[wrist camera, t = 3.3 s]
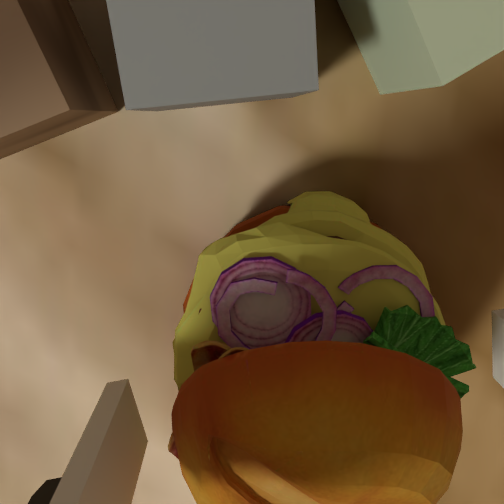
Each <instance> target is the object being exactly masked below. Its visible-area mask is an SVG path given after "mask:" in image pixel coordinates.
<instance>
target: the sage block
mask: <svg viewBox="0 0 504 504" xmlns="http://www.w3.org/2000/svg"><path fill="white" fill-rule="evenodd" d="M337 1H338V3H339V6H340V8H341V10H342V12H343V14H344V16H345V19H346V21H347V23H348V25H349V27H350V30H351V32H352V34H353V36H354V38H355V40H356V43H357V45H358V47H359V49H360V51H361V53H362V56H363V58H364V60H365V62H366V64H367V67H368V69H369V71H370V73H371V75H372V77H373V80H374V82H375V84H376V86H377V88H378V90H379V93H380V95H381V94H388V93H395V92H403V91H410V90H417V89H425V88H432V87H439V86H444V85H445V84H447V83H449V82H450V81H452V80H454V79H455V78H457V77H459V76H460V75H462V74H464V73H465V72H467V71H469V70H471V69H472V68H474V67H476V66H477V65H479V64H481V63H482V62H484V61H486V60H487V59H489V58H491V57H492V56H494V55H496V54H498V53H499V52H501V51H503V50H504V0H337Z"/></svg>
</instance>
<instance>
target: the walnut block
mask: <svg viewBox="0 0 504 504" xmlns="http://www.w3.org/2000/svg"><path fill="white" fill-rule="evenodd" d="M116 112H118V110H117V108H116V106H115V104H114V101H113V99H112V97H111V95H110V93H109V90H108V88H107V86H106V84H105V81H104V79H103V77H102V75H101V73H100V70H99V68H98V66H97V64H96V61H95V59H94V57H93V55H92V53H91V50H90V48H89V46H88V44H87V41H86V39H85V37H84V35H83V33H82V30H81V28H80V26H79V24H78V21H77V19H76V17H75V15H74V13H73V10H72V8H71V6H70V4H69V1H68V0H0V159H1V158H4V157H6V156H9V155H11V154H14V153H16V152H19V151H21V150H24V149H26V148H29V147H31V146H34V145H36V144H39V143H41V142H44V141H46V140H49V139H51V138H54V137H56V136H59V135H61V134H64V133H66V132H69V131H71V130H74V129H76V128H79V127H81V126H84V125H86V124H89V123H91V122H94V121H96V120H99V119H101V118H104V117H106V116H109V115H111V114H114V113H116Z"/></svg>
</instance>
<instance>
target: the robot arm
mask: <svg viewBox="0 0 504 504" xmlns="http://www.w3.org/2000/svg"><path fill="white" fill-rule="evenodd" d="M492 353H493V378H494V379H495V380H496V381H497V382H498V383H499V384H500V385H501V386H502V387H503V388H504V309H499V310H494V311H492ZM147 442H148V440H147V437H146V434H145V430H144V427H143V424H142V421H141V418H140V415H139V412H138V408H137V405H136V402H135V399H134V396H133V393H132V390H131V386H130V383H129V380H128V379H125V380H120V381H114V382H109V383H107V384H106V386H105V388H104V391H103V393H102V395H101V397H100V399H99V401H98V403H97V405H96V407H95V409H94V411H93V414H92V416H91V418H90V420H89V422H88V424H87V426H86V428H85V430H84V432H83V434H82V437H81V439H80V441H79V443H78V445H77V447H76V449H75V451H74V453H73V455H72V457H71V459H70V462H69V464H68V466H67V468H66V470H65V472H64V474H63V476H62V477H61V478H56V479H50V480H46V481H45V483H44V484H43V485H42V486H41V487H40V488H39V489H38V490H37V491H36V492H35V493H34V494H33V496H32V497H31V499H30V501H29V502H28V504H131V503H132V499H133V495H134V491H135V488H136V484H137V480H138V476H139V472H140V469H141V465H142V461H143V457H144V454H145V450H146V446H147Z"/></svg>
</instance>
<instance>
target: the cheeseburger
mask: <svg viewBox="0 0 504 504" xmlns="http://www.w3.org/2000/svg"><path fill="white" fill-rule="evenodd" d="M287 203H289V204H291V206H277V207H275V208H273V209H270V210H268V211H266V212H264V213H261V214H259V215H257V216H255V217H252V218H250V219H248V220H246V221H243V222H241V223H239V224H237V225H236V226H235V227H234V228H233V229H232V230H231V231H230V232H229V233H228V234H227V235H226V236H225V237H224V238H221V239H219V240H217V241H215V242H213V243H212V244H210V245H209V246H207V247H206V248H205V249H204V250H203V251H202V253H201V254H200V255H199V258H198V263H197V267H196V272H195V276H194V279H193V281H192V284H191V286H190V289H189V291H188V294H187V296H186V299H185V301H184V304H183V309H184V315H183V317H182V318H181V320H180V322H179V324H178V326H177V328H176V330H175V339H174V341H173V349H174V380H175V382H176V384H177V386H178V390H179V393H178V395H177V398H176V400H175V403H174V405H173V410H172V431H173V432H172V434H171V437H170V441H169V444H168V450H169V452H171V453H172V454H173V455H174V456H176V457H177V458H178V459H179V461H180V466H181V470H182V475H183V477H184V479H185V481H186V483H187V485H188V487H189V489H190V491H191V493H192V495H193V497H194V499H195V501H196V503H197V504H436V503H437V502H438V500H439V499H440V498H441V497H442V496H443V495H444V493H445V492H446V491H447V490H448V488H449V485H450V481H451V478H452V475H453V472H454V469H455V465H456V462H457V459H458V456H459V453H460V449H461V442H462V432H463V429H462V415H461V402H460V398H462V397H463V396H464V395H465V394H466V393H467V392H469V386H468V385H466V384H464V383H462V382H460V381H458V380H455V379H453V378H451V376H454V375H457V374H460V373H463V372H466V371H469V370H472V369H475V368H476V366H475V364H473V363H472V358H471V353H470V348H469V345H467V344H465V343H463V342H461V341H458V340H456V339H455V336H454V332H453V329H452V327H451V326H446V324H445V322H444V319H443V316H442V313H441V310H440V308H439V305H438V304H437V302H436V300H435V299H434V297H433V296H432V294H431V293H430V288H429V284H428V281H427V278H426V274H425V271H424V268H423V265H422V263H421V262H420V261H419V260H418V258H417V257H416V256H415V255H414V254H413V252H412V251H411V250H410V249H409V248H408V247H407V246H406V245H405V244H404V243H402V242H401V241H399V240H398V239H397V238H395V237H394V236H393V235H391V234H390V233H388V232H386V231H384V230H382V229H381V228H380V227H379V226H378V225H377V224H375V223H372V222H370V221H369V218H368V215H367V213H366V212H365V211H364V210H362V209H361V208H360V207H359V206H358V205H357V204H356V203H355V202H354V201H352V200H350V199H347V198H345V197H343V196H340V195H338V194H335V193H333V192H331V191H314V192H304V193H302V194H301V195H299V196H297V197H295V198H294V199H291V200H290V201H288V202H287Z"/></svg>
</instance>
